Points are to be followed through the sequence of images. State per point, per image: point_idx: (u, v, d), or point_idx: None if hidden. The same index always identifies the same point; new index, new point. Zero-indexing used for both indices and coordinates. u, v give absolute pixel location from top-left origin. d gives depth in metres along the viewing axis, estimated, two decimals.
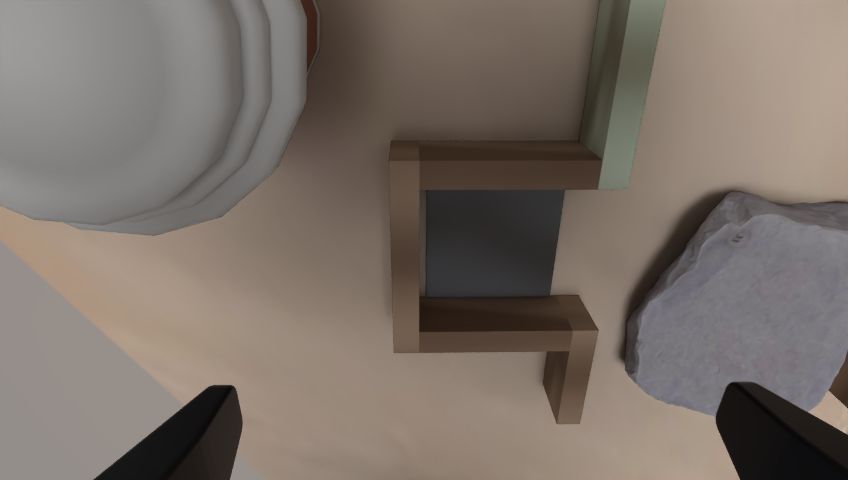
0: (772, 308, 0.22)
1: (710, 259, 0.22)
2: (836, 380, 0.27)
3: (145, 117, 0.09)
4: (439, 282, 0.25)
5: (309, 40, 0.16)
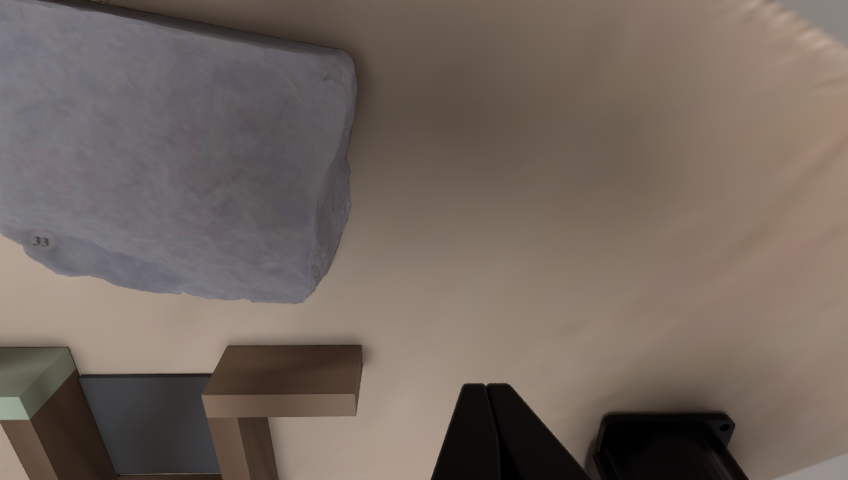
0: (110, 184, 0.15)
1: (83, 261, 0.17)
2: None
3: None
4: None
5: None
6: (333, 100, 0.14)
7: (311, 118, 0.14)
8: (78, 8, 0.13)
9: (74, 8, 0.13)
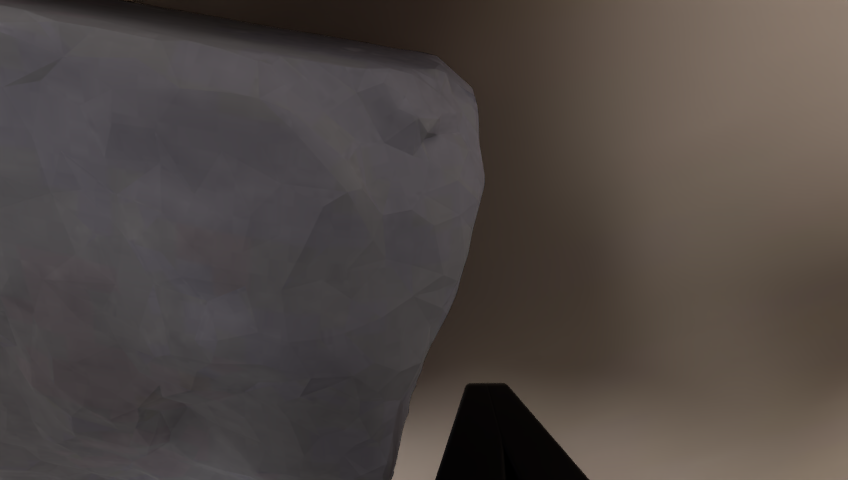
0: None
1: None
2: None
3: None
4: None
5: None
6: (450, 191, 0.05)
7: (394, 245, 0.05)
8: None
9: None
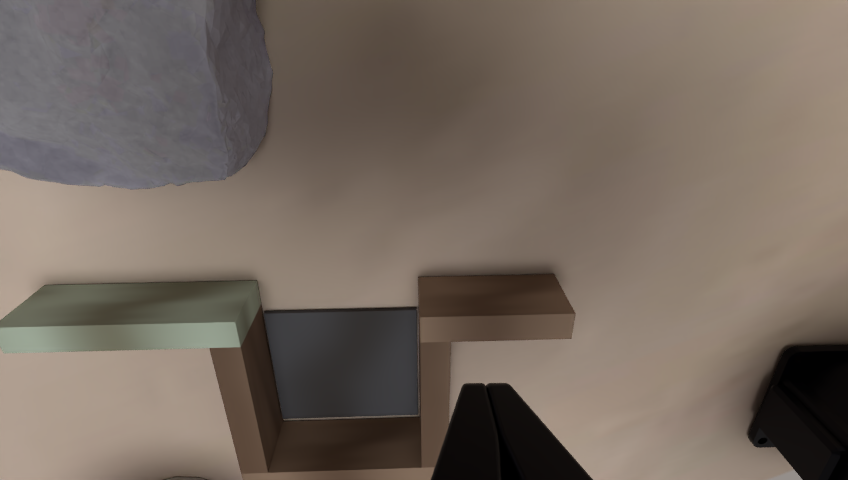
0: None
1: None
2: None
3: None
4: (400, 405, 0.24)
5: None
6: None
7: None
8: None
9: None
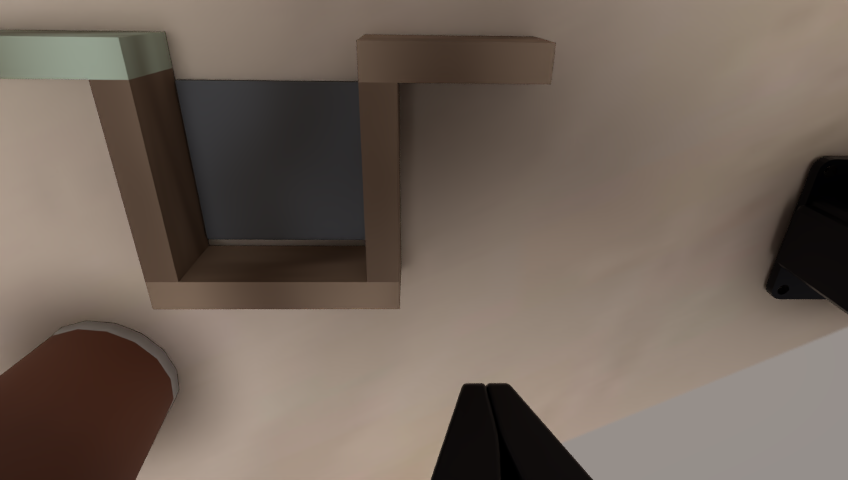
0: None
1: None
2: None
3: None
4: (348, 224, 0.20)
5: (50, 369, 0.19)
6: None
7: None
8: None
9: None
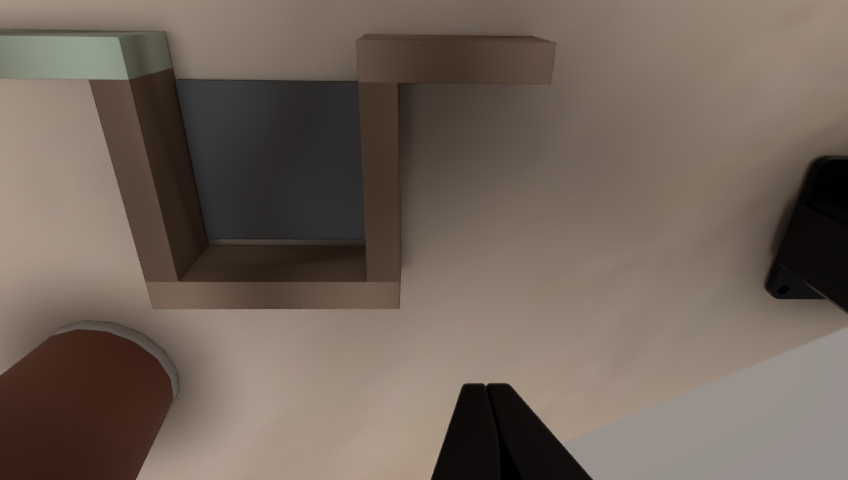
0: None
1: None
2: None
3: None
4: (348, 224, 0.20)
5: (50, 369, 0.19)
6: None
7: None
8: None
9: None
